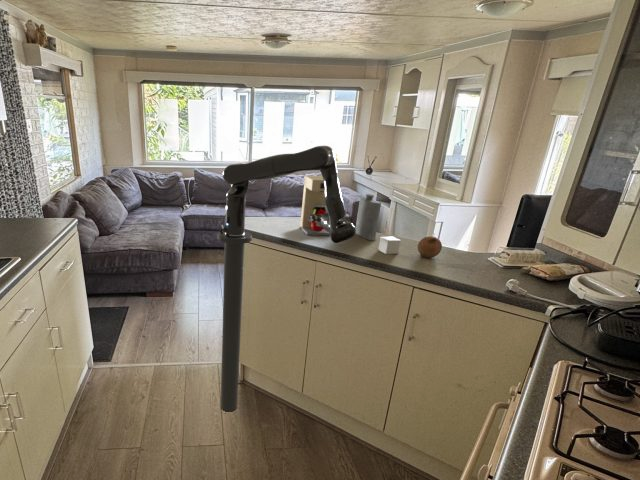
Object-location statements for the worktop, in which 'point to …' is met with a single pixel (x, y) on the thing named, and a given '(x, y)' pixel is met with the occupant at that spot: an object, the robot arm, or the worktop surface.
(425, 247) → the onion
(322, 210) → the beverage can
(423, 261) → the worktop surface
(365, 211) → the hip flask
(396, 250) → the white cube
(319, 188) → the coffee maker
